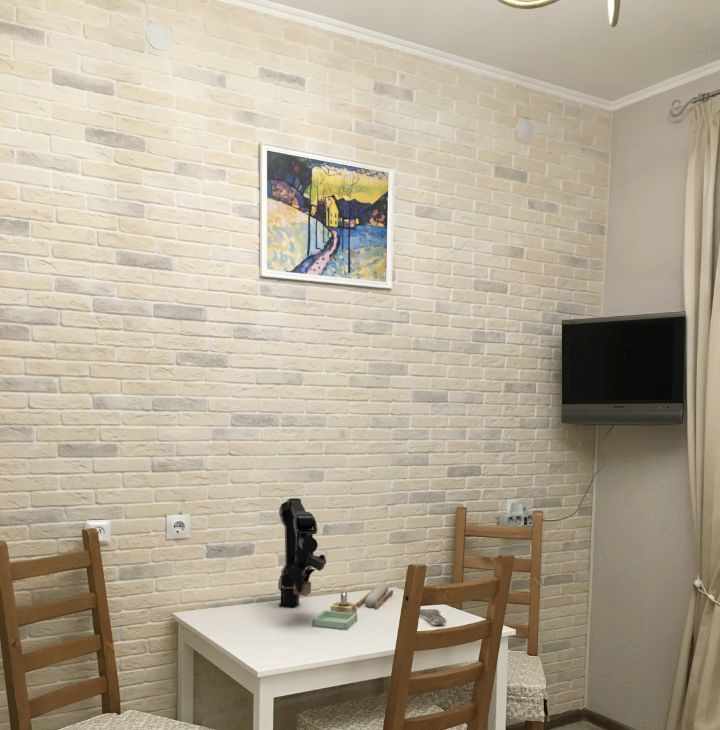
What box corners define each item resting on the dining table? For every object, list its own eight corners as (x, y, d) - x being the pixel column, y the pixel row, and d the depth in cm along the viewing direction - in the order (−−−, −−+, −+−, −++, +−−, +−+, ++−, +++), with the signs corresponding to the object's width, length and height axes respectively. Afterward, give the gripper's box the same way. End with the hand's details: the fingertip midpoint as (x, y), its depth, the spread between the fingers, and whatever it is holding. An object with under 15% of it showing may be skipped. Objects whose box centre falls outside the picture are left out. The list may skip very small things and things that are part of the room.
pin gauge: (339, 614, 299) (340, 593, 299) (341, 612, 301) (341, 591, 301) (345, 615, 298) (346, 593, 298) (347, 613, 300) (347, 592, 301)
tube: (378, 599, 308) (390, 584, 333) (365, 593, 310) (378, 579, 334) (373, 611, 309) (386, 596, 333) (361, 606, 310) (374, 591, 334)
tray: (312, 626, 282) (312, 619, 282) (324, 617, 294) (324, 610, 294) (346, 630, 278) (346, 623, 278) (357, 620, 291) (357, 613, 291)
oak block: (330, 615, 297) (330, 606, 297) (337, 610, 304) (337, 601, 305) (350, 617, 294) (350, 608, 295) (356, 612, 302) (356, 603, 302)
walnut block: (293, 594, 288) (293, 583, 288) (298, 591, 293) (298, 580, 293) (306, 595, 287) (306, 584, 287) (310, 592, 292) (311, 581, 292)
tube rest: (356, 607, 309) (356, 602, 310) (374, 592, 334) (374, 588, 334) (376, 609, 307) (376, 604, 307) (392, 594, 332) (393, 590, 332)
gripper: (315, 554, 280) (314, 598, 279) (331, 545, 297) (330, 587, 297) (286, 551, 283) (284, 595, 282) (304, 543, 301) (303, 584, 300)
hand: (302, 590), depth 290 cm, fingers closed on walnut block, 5 cm apart
